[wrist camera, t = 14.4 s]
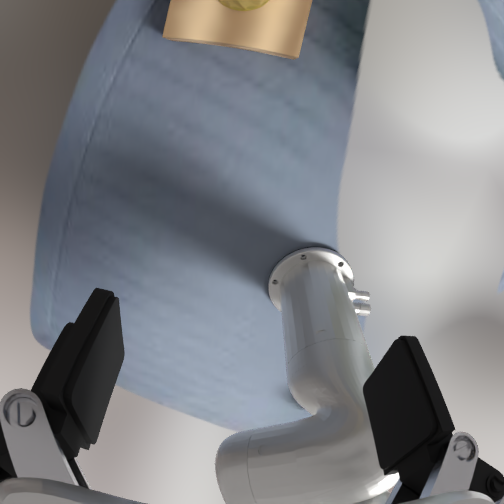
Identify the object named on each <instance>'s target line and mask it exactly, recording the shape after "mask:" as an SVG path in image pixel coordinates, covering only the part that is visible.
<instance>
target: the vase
mask: <svg viewBox="0 0 504 504" xmlns="http://www.w3.org/2000/svg"><path fill="white" fill-rule="evenodd" d="M218 1H219V2H220V3H221V4H223V5H224V6H226V7H227V8H230V9H233V10H237V11H250V10H254V9H257V8H260V7H262V6H263V5H265V4H266V3H267V2H268V1H269V0H218Z"/></svg>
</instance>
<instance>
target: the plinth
mask: <svg viewBox="0 0 504 504" xmlns="http://www.w3.org/2000/svg"><path fill="white" fill-rule="evenodd" d="M311 3H312V0H269V1H268V2H267V3H266V4H265V5H263V6H262V7H260V8H257V9H254V10H250V11H237V10H233V9H230V8H227V7H226V6H224V5H223V4H221V3H220V2H219V1H218V0H171V1H170V5H169V10H168V14H167V18H166V23H165V27H164V32H163V37H164V38H166V39H169V40H171V41H181V42H192V43H202V44H211V45H218V46H226V47H232V48H239V49H245V50H250V51H256V52H261V53H266V54H271V55H276V56H280V57H285V58H289V59H293V60H294V59H296V58H298V57H299V53H300V49H301V45H302V41H303V36H304V32H305V28H306V24H307V20H308V16H309V11H310V7H311Z"/></svg>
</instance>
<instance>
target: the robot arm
mask: <svg viewBox="0 0 504 504" xmlns="http://www.w3.org/2000/svg"><path fill="white" fill-rule="evenodd" d="M353 286H354V276H353V272H352V269H351V267H350V265H349V263H348V262H347V260H346V259H345V258H344V257H343V256H342V255H340V254H339V253H337V252H335V251H333V250H330V249H326V248H321V247H311V248H304V249H301V250H298V251H295V252H293V253H291V254H289V255H287V256H286V257H284V258H283V259H282V260H281V261H280V262H279V263H278V264H277V265H276V266H275V268H274V269H273V271H272V272H271V275H270V278H269V284H268V288H269V295H270V299H271V301H272V303H273V305H274V306H275V307H276V308H277V309H278V310H279V311H280V312H282V323H283V334H284V346H285V358H286V370H287V382H288V387H289V390H290V392H291V394H292V396H293V397H294V399H295V400H296V401H297V402H298V403H299V404H300V405H301V406H302V407H303V408H304V409H305V410H306V411H308V412H309V413H310V414H312V415H313V416H311V417H308V418H304V419H300V420H298V421H294V422H289V423H284V424H279V425H274V426H268V427H263V428H258V429H252V430H247V431H242V432H239V433H236V434H233V435H231V436H229V437H228V438H226V439H225V440H224V441H223V442H222V443H221V445H220V447H219V449H218V451H217V454H216V460H215V470H216V477H217V482H218V485H219V488H220V491H221V494H222V496H223V498H224V501H225V503H226V504H504V477H503V475H502V474H501V473H500V472H499V471H498V470H496V469H495V468H493V467H492V466H490V465H489V464H487V463H486V462H484V461H483V460H481V459H480V458H478V452H479V451H478V445H477V443H476V441H475V440H474V438H473V437H472V436H471V435H469V434H468V433H465V432H458V433H455V434H454V435H453V434H452V432H453V431H454V430H455V427H454V425H453V422H452V419H451V417H450V414H449V411H448V409H447V406H446V404H445V401H444V399H443V396H442V393H441V391H440V389H439V386H438V384H437V381H436V379H435V377H434V374H433V372H432V369H431V367H430V365H429V363H428V361H427V358H426V356H425V354H424V352H423V349H422V347H421V345H420V343H419V341H418V339H417V338H416V337H415V336H400V337H399V338H398V339H397V340H395V341H394V342H393V344H392V345H391V347H390V348H389V350H388V351H387V353H386V354H385V355H384V357H383V359H382V360H381V361H380V363H379V364H378V365H377V367H376V368H375V369H374V366H373V363H372V359H371V356H370V353H369V350H368V347H367V344H366V341H365V338H364V335H363V332H362V329H361V326H360V323H359V320H358V317H357V315H359V316H368V315H369V314H370V310H371V307H370V305H369V304H365V303H354V302H352V301H353V300H354V299H359V300H363V301H368V300H369V296H370V294H369V292H366V291H357V290H356V289H355V288H354V287H353ZM123 360H124V344H123V336H122V327H121V317H120V307H119V298H118V297H114V293H113V292H112V291H108V290H104V289H99V288H96V289H94V291H93V292H92V294H91V296H90V297H89V299H88V301H87V302H86V304H85V306H84V307H83V309H82V311H81V313H80V314H79V316H78V318H77V320H76V321H75V323H71V322H69V323H68V324H66V326H65V327H64V328H63V330H62V332H61V334H60V336H59V337H58V339H57V341H56V343H55V344H54V346H53V348H52V350H51V352H50V354H49V356H48V358H47V359H46V361H45V363H44V365H43V367H42V369H41V371H40V373H39V375H38V377H37V379H36V381H35V383H34V385H33V387H32V389H31V391H30V390H27V389H22V388H20V389H14V390H12V391H10V392H8V393H7V394H6V395H5V396H4V397H3V398H2V400H1V402H0V504H146V503H141V502H137V501H133V500H128V499H124V498H120V497H117V496H113V495H109V494H106V493H102V492H98V491H94V490H92V489H91V487H90V485H89V484H88V481H87V480H86V478H85V476H84V474H83V472H82V470H81V468H80V466H79V464H78V461H77V459H76V457H77V456H78V453H79V449H80V447H81V448H84V449H87V450H89V447H90V444H95V443H96V441H97V438H98V435H99V432H100V428H101V425H102V422H103V419H104V416H105V413H106V410H107V407H108V404H109V400H110V398H111V395H112V392H113V389H114V386H115V383H116V380H117V377H118V374H119V371H120V369H121V366H122V363H123ZM395 484H396V485H395ZM394 485H395V487H394V489H393V490H392V492H391V493H389V492H388V491H387V490H389V489H390V488H391V487H393V486H394Z"/></svg>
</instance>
